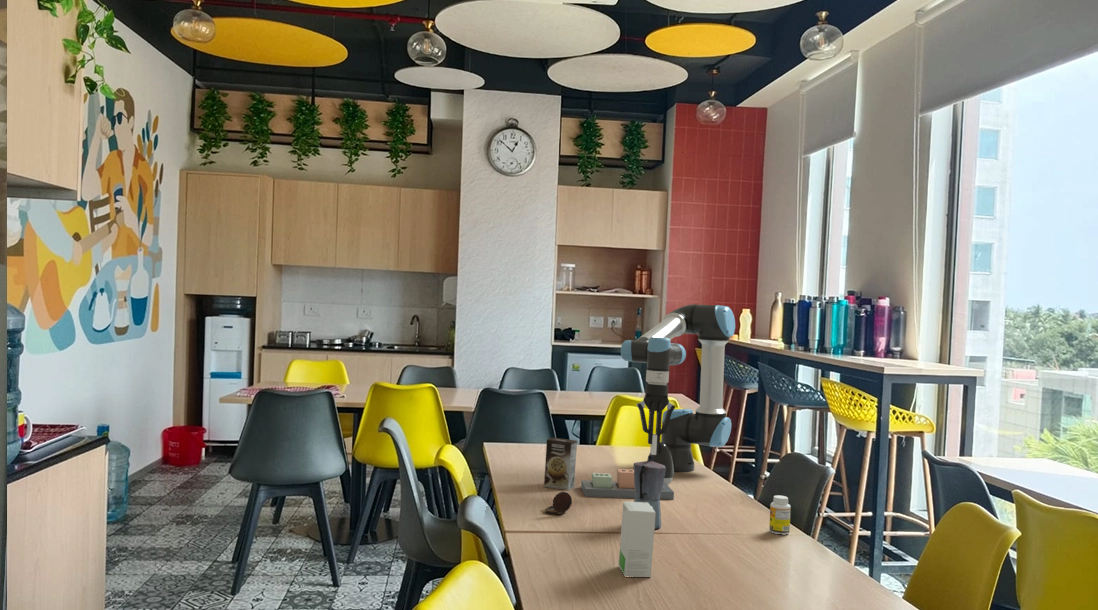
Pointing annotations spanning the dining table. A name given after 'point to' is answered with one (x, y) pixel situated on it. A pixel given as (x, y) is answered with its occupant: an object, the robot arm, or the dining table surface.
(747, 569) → the dining table surface
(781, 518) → the supplement bottle
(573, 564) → the dining table surface
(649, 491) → the moka pot
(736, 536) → the dining table surface
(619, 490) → the keypad board
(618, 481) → the terracotta key
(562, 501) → the compass
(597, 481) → the sage key
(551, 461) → the coffee box
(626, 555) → the skincare box
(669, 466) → the pump dispenser
